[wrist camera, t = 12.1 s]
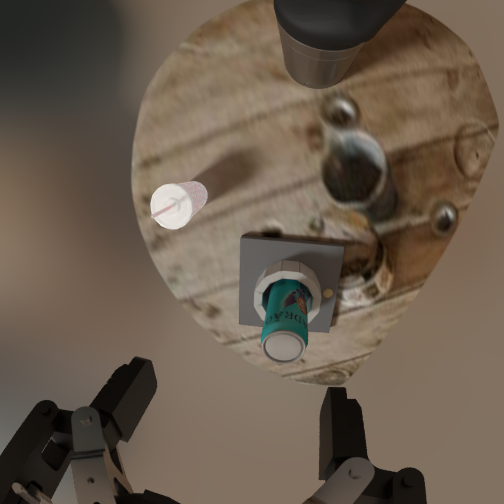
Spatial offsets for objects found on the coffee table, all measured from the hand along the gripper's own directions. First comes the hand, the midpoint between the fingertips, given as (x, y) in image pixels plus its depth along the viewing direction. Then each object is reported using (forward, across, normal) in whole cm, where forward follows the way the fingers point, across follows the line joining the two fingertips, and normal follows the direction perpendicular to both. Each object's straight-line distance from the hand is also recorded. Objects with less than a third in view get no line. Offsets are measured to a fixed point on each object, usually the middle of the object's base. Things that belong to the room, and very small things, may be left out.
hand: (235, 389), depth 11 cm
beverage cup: (+34, +14, -2) cm, 37 cm away
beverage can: (+33, -2, +12) cm, 35 cm away
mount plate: (+34, -2, +12) cm, 36 cm away
